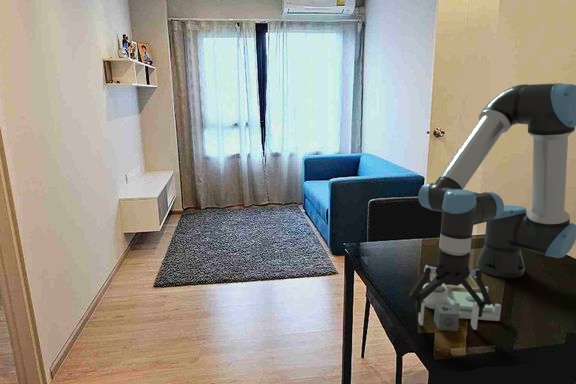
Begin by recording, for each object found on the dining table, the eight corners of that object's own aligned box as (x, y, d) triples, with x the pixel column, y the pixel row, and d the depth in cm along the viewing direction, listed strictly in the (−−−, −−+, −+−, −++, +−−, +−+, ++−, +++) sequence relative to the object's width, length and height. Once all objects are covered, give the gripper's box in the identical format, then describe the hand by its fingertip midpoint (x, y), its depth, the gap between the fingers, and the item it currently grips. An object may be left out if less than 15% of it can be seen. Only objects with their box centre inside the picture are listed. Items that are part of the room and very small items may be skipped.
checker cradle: (485, 300, 125) (487, 286, 124) (499, 320, 113) (501, 306, 112) (444, 297, 126) (445, 283, 125) (453, 317, 115) (455, 303, 114)
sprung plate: (482, 296, 123) (483, 292, 123) (492, 311, 114) (493, 307, 114) (451, 294, 124) (451, 290, 124) (458, 309, 116) (459, 305, 115)
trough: (468, 282, 137) (469, 273, 136) (478, 298, 126) (479, 289, 125) (429, 279, 138) (430, 271, 138) (436, 295, 128) (437, 286, 127)
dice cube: (433, 320, 114) (435, 303, 113) (452, 321, 113) (454, 304, 112) (438, 330, 109) (439, 313, 108) (457, 331, 108) (459, 314, 107)
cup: (443, 298, 126) (444, 283, 124) (448, 310, 119) (450, 294, 118) (419, 297, 127) (421, 282, 125) (423, 308, 120) (425, 292, 119)
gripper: (500, 247, 107) (491, 321, 111) (402, 242, 110) (397, 313, 115) (511, 258, 99) (501, 336, 104) (406, 252, 103) (400, 328, 108)
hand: (446, 324), depth 110 cm, fingers open, 13 cm apart
